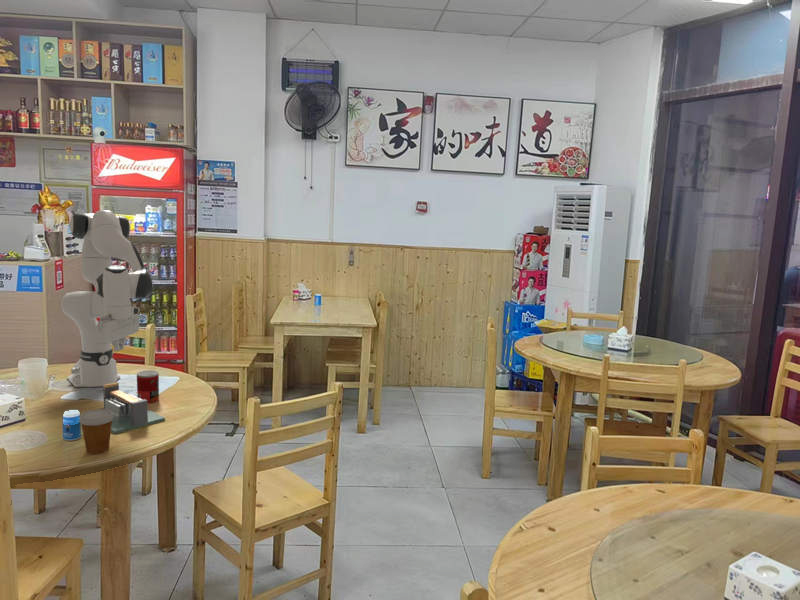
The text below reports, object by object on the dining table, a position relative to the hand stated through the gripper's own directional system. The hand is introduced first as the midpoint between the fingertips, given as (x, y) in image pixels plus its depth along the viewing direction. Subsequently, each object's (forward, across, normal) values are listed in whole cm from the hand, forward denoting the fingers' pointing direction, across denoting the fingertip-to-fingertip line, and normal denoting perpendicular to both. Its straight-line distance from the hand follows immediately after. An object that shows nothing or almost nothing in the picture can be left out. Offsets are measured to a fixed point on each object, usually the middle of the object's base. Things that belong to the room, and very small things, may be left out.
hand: (119, 350), depth 210 cm
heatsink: (+25, -2, -3) cm, 25 cm away
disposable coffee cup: (+24, -29, -11) cm, 39 cm away
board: (+25, -2, -2) cm, 25 cm away
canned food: (+25, +18, 0) cm, 31 cm away
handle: (+18, -2, -3) cm, 18 cm away
